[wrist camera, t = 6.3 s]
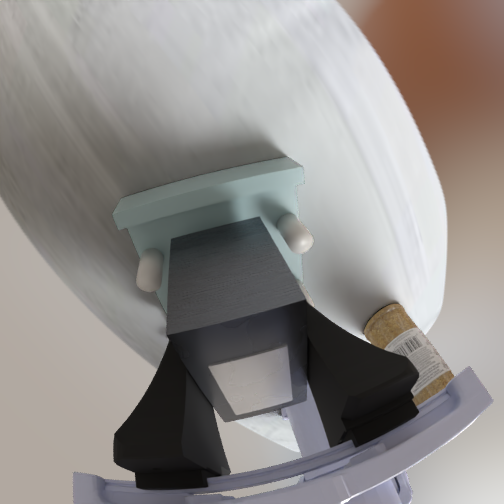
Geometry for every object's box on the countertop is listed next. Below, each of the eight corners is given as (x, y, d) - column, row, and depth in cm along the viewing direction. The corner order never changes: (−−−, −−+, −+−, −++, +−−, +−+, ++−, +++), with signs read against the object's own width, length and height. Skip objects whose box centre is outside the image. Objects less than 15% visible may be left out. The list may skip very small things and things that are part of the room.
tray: (300, 311, 19) (314, 340, 17) (185, 341, 18) (187, 373, 16) (288, 156, 13) (310, 171, 11) (121, 198, 12) (107, 222, 10)
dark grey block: (275, 322, 16) (307, 401, 11) (210, 339, 15) (225, 423, 11) (259, 216, 12) (307, 301, 7) (170, 238, 12) (166, 337, 7)
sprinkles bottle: (361, 343, 24) (426, 456, 13) (363, 314, 21) (445, 445, 10) (399, 323, 24) (468, 425, 13) (405, 293, 21) (491, 406, 10)
